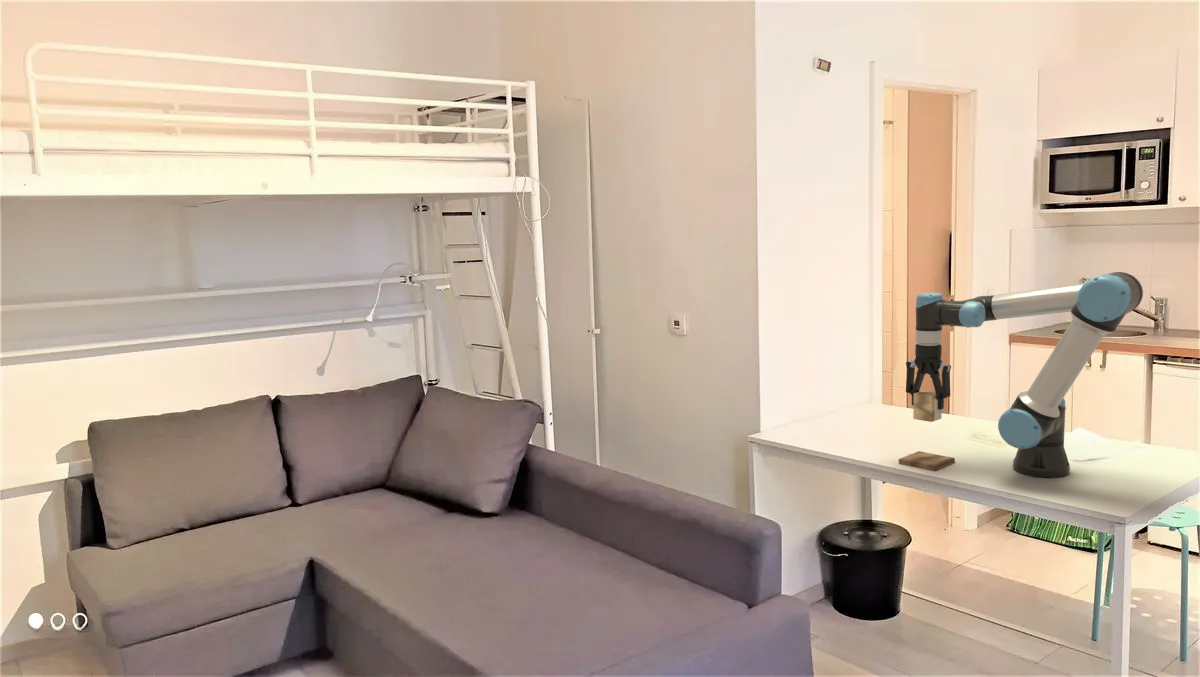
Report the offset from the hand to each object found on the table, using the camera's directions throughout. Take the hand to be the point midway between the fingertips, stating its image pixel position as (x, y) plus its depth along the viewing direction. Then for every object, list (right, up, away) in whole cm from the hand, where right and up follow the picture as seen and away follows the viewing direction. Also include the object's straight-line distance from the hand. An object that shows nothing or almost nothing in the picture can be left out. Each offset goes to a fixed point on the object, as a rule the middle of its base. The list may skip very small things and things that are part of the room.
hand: (927, 417), depth 272 cm
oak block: (0, 0, 0) cm, 0 cm away
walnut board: (+1, -14, +2) cm, 14 cm away
